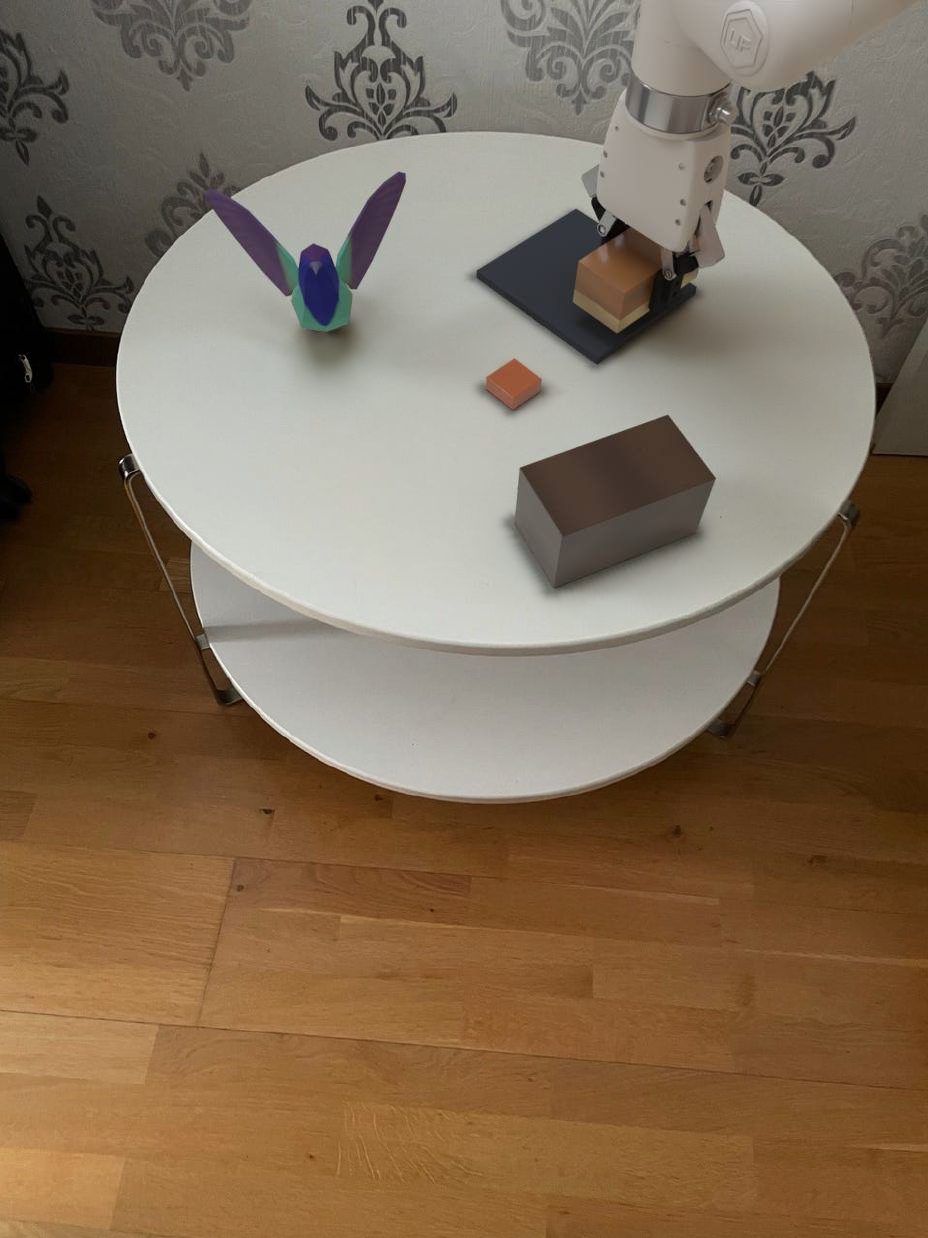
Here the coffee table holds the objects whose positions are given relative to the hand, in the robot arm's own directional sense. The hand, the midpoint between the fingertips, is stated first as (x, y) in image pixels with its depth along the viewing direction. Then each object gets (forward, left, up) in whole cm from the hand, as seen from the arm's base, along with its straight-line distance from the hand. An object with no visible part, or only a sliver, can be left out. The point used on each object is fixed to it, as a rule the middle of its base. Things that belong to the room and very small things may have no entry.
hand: (636, 285), depth 87 cm
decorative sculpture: (+17, +23, -4) cm, 29 cm away
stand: (-15, +20, -4) cm, 25 cm away
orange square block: (+1, +15, -4) cm, 15 cm away
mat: (+6, 0, -4) cm, 7 cm away
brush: (0, 0, 0) cm, 0 cm away
